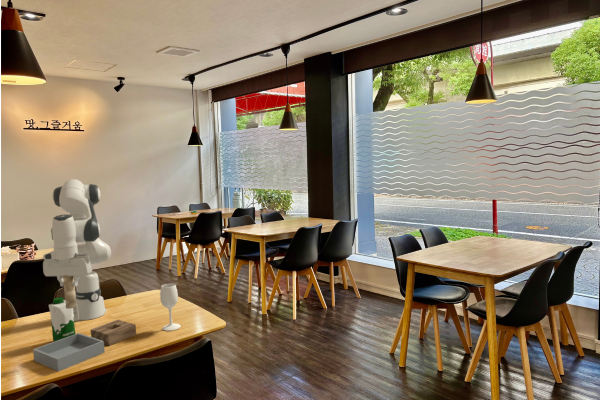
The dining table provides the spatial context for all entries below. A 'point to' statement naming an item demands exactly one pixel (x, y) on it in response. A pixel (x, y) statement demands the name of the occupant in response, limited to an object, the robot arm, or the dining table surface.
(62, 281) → the robot arm
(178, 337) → the dining table surface
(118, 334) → the socket block
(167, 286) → the wineglass
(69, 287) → the dowel
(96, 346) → the tray
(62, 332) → the milk carton
